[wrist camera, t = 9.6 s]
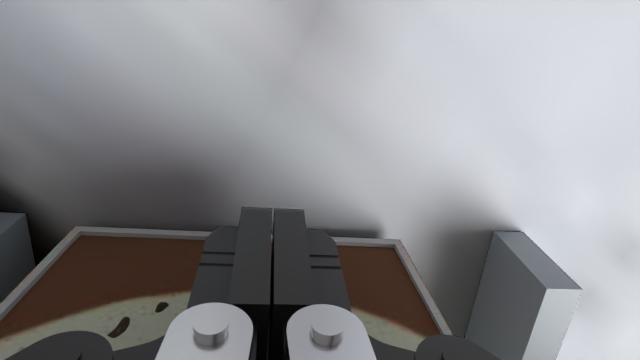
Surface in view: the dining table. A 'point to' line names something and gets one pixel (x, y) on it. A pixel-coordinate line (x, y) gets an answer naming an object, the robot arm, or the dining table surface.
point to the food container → (176, 285)
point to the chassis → (488, 310)
